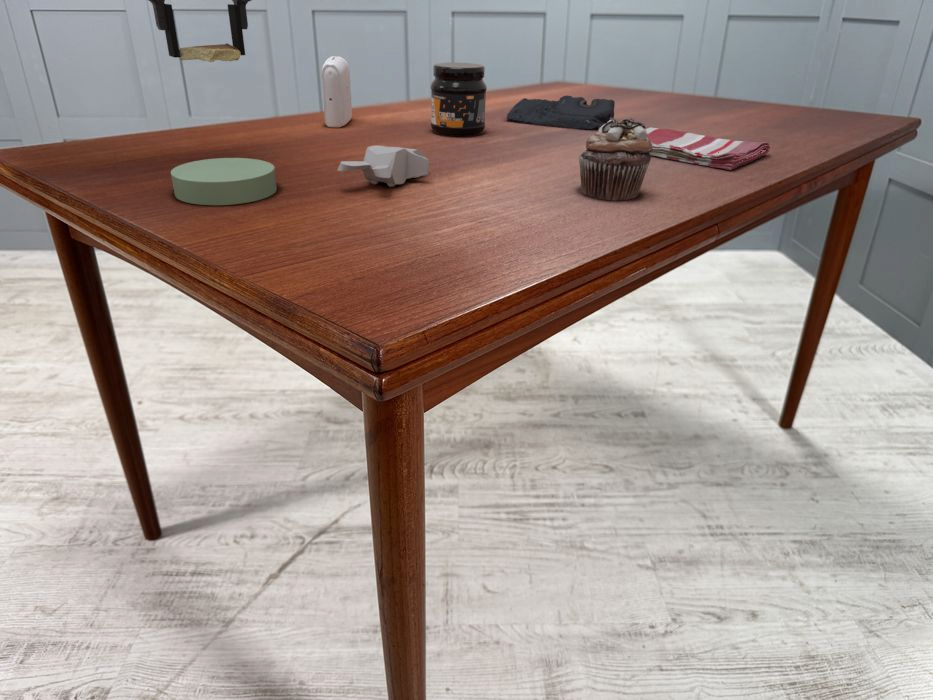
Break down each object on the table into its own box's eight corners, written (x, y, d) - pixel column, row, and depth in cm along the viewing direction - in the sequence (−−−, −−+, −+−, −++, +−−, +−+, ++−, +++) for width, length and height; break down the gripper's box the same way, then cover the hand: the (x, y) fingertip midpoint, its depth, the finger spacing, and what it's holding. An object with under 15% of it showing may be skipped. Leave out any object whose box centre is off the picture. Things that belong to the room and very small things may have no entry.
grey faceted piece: (443, 147, 98) (391, 155, 85) (441, 183, 100) (390, 195, 87) (387, 140, 101) (329, 146, 88) (386, 174, 103) (329, 185, 90)
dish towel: (732, 171, 106) (736, 154, 105) (604, 148, 120) (606, 132, 118) (769, 155, 118) (773, 139, 116) (648, 135, 131) (650, 121, 130)
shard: (228, 54, 102) (226, 41, 101) (270, 57, 100) (268, 44, 99) (176, 60, 93) (174, 45, 92) (220, 63, 91) (218, 49, 90)
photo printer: (344, 128, 130) (340, 59, 124) (322, 127, 130) (317, 58, 124) (354, 118, 139) (351, 54, 133) (334, 118, 139) (329, 53, 133)
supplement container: (419, 132, 128) (419, 64, 122) (450, 124, 136) (451, 60, 130) (465, 139, 123) (467, 69, 117) (495, 131, 131) (498, 65, 125)
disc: (163, 186, 91) (159, 164, 89) (256, 174, 97) (254, 153, 96) (191, 211, 81) (186, 186, 80) (291, 196, 88) (289, 173, 87)
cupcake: (620, 181, 99) (630, 111, 94) (658, 199, 91) (671, 123, 86) (563, 186, 96) (570, 113, 91) (597, 204, 88) (606, 126, 83)
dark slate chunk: (523, 110, 153) (524, 88, 151) (618, 119, 146) (621, 96, 144) (500, 121, 141) (501, 97, 138) (603, 131, 133) (606, 106, 131)
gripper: (93, -154, 76) (135, 60, 87) (271, -132, 88) (288, 55, 99) (80, -146, 82) (121, 55, 92) (250, -127, 93) (269, 51, 104)
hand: (207, 55), depth 96 cm, fingers closed on shard, 8 cm apart
